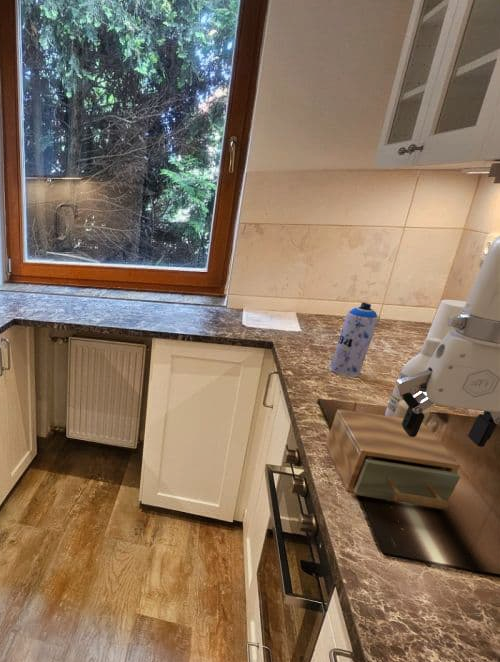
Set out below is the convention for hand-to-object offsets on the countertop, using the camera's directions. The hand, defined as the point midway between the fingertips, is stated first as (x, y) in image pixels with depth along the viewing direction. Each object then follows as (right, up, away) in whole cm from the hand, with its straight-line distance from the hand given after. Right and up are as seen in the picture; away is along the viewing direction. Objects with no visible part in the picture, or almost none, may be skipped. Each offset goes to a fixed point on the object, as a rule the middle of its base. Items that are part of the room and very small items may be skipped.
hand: (441, 436), depth 72 cm
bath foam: (+22, 0, +38) cm, 44 cm away
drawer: (+2, -10, +13) cm, 17 cm away
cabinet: (+3, -9, +19) cm, 21 cm away
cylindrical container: (+35, +5, +48) cm, 60 cm away
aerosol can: (+25, +13, +64) cm, 70 cm away
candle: (+16, -4, +30) cm, 34 cm away
